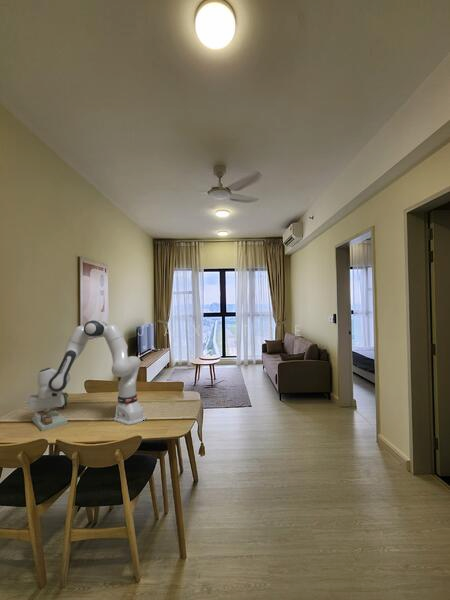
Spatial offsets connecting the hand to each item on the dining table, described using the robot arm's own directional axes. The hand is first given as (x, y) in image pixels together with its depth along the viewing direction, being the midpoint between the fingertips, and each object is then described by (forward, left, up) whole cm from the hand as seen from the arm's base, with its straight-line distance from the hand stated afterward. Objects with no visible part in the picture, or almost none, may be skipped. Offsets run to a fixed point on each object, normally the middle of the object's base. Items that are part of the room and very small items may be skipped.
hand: (47, 414), depth 186 cm
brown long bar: (-5, +3, -1) cm, 6 cm away
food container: (+20, -15, -4) cm, 25 cm away
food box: (-3, 0, -4) cm, 5 cm away
